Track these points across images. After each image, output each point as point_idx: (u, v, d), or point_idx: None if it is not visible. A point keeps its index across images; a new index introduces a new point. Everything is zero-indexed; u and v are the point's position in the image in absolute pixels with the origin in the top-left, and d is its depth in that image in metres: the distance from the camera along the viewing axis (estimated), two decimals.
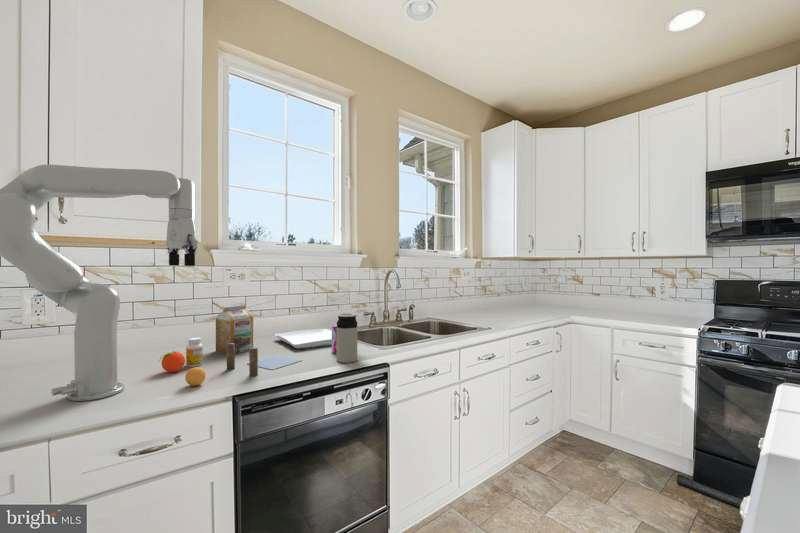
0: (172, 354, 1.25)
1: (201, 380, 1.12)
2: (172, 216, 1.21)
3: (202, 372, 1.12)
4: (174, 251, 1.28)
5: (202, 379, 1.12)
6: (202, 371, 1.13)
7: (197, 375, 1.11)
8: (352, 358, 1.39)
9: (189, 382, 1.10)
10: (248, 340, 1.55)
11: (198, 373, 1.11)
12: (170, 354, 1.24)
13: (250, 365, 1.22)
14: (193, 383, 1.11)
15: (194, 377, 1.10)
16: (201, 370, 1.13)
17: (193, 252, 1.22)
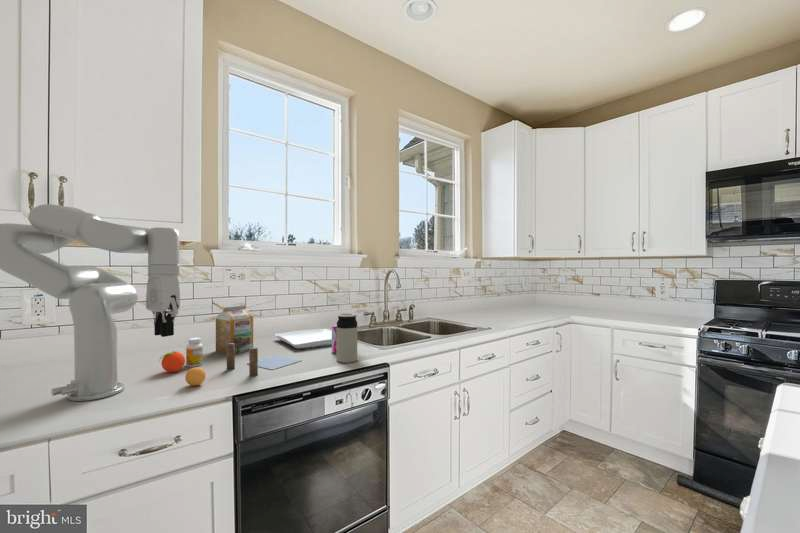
0: (172, 354, 1.25)
1: (201, 380, 1.12)
2: (152, 274, 1.01)
3: (202, 372, 1.12)
4: (160, 316, 1.06)
5: (202, 379, 1.12)
6: (202, 371, 1.13)
7: (197, 375, 1.11)
8: (352, 358, 1.39)
9: (189, 382, 1.10)
10: (248, 340, 1.55)
11: (198, 373, 1.11)
12: (170, 354, 1.24)
13: (250, 365, 1.22)
14: (193, 383, 1.11)
15: (194, 377, 1.10)
16: (201, 370, 1.13)
17: (171, 321, 1.04)
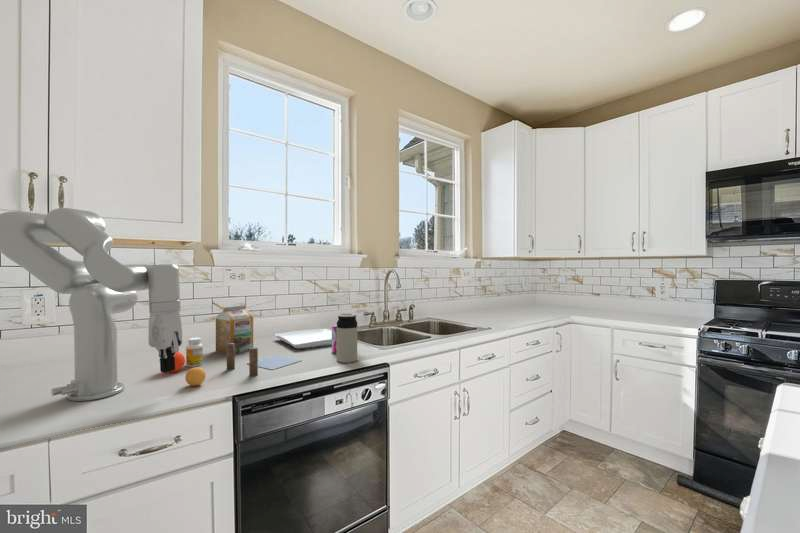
0: None
1: (201, 380, 1.12)
2: (153, 312, 1.01)
3: (202, 372, 1.12)
4: None
5: (202, 379, 1.12)
6: (202, 371, 1.13)
7: (197, 375, 1.11)
8: (352, 358, 1.39)
9: (189, 382, 1.10)
10: (248, 340, 1.55)
11: (198, 373, 1.11)
12: None
13: (250, 365, 1.22)
14: (193, 383, 1.11)
15: (194, 377, 1.10)
16: (201, 370, 1.13)
17: None
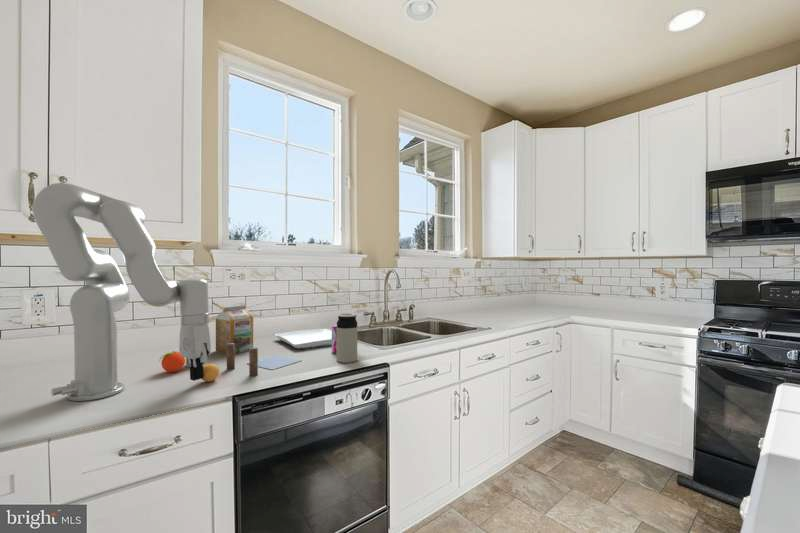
0: (172, 354, 1.25)
1: (211, 376, 1.14)
2: (184, 324, 1.08)
3: (218, 374, 1.17)
4: None
5: (212, 377, 1.15)
6: (218, 374, 1.17)
7: (216, 370, 1.16)
8: (352, 358, 1.39)
9: (206, 367, 1.15)
10: (248, 340, 1.55)
11: (217, 371, 1.16)
12: (170, 354, 1.24)
13: (250, 365, 1.22)
14: (207, 371, 1.14)
15: (214, 368, 1.15)
16: (218, 373, 1.17)
17: None
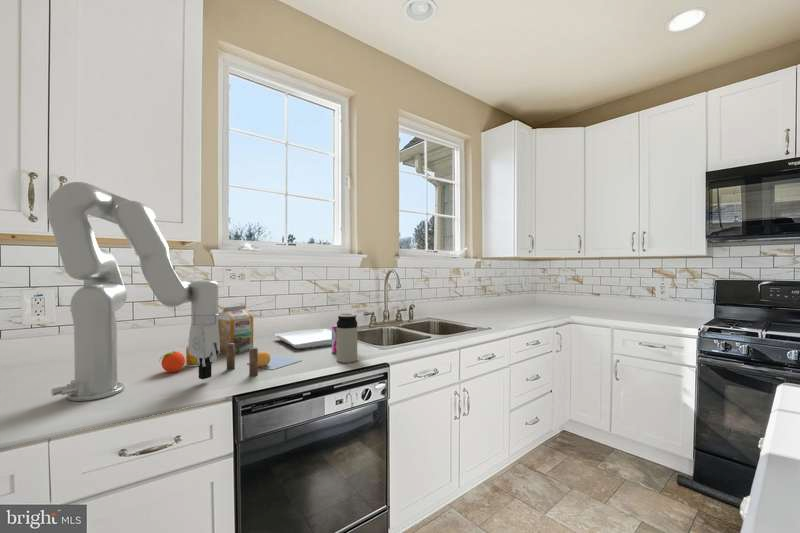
0: (172, 354, 1.25)
1: (264, 359, 1.31)
2: (195, 324, 1.11)
3: (267, 363, 1.32)
4: None
5: (264, 360, 1.31)
6: (267, 364, 1.33)
7: (269, 359, 1.33)
8: (352, 358, 1.39)
9: (265, 352, 1.33)
10: (248, 340, 1.55)
11: (269, 360, 1.33)
12: (170, 354, 1.24)
13: (250, 365, 1.22)
14: (265, 353, 1.32)
15: (269, 356, 1.33)
16: (267, 364, 1.33)
17: None
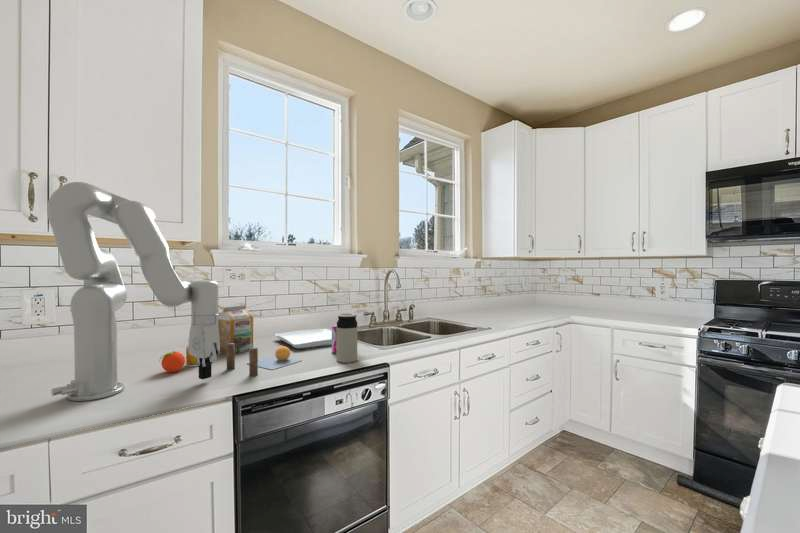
0: (172, 354, 1.25)
1: (289, 355, 1.40)
2: (195, 324, 1.11)
3: (286, 350, 1.40)
4: None
5: (289, 354, 1.40)
6: (285, 349, 1.40)
7: (284, 354, 1.39)
8: (352, 358, 1.39)
9: (281, 360, 1.40)
10: (248, 340, 1.55)
11: (284, 352, 1.39)
12: (170, 354, 1.24)
13: (250, 365, 1.22)
14: (285, 359, 1.40)
15: (283, 356, 1.38)
16: (284, 349, 1.40)
17: None
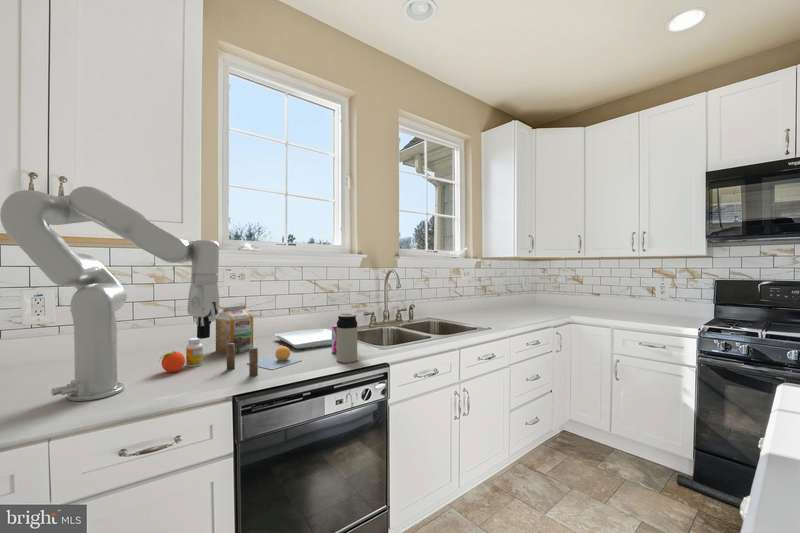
0: (172, 354, 1.25)
1: (289, 355, 1.40)
2: (195, 282, 1.11)
3: (286, 350, 1.40)
4: None
5: (289, 354, 1.40)
6: (285, 349, 1.40)
7: (284, 354, 1.39)
8: (352, 358, 1.39)
9: (281, 360, 1.40)
10: (248, 340, 1.55)
11: (284, 352, 1.39)
12: (170, 354, 1.24)
13: (250, 365, 1.22)
14: (285, 359, 1.40)
15: (283, 356, 1.38)
16: (284, 349, 1.40)
17: None
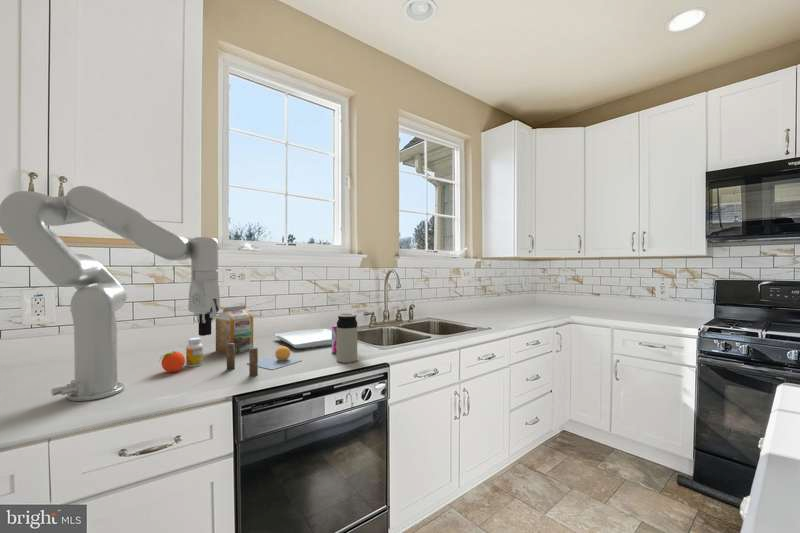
0: (172, 354, 1.25)
1: (289, 355, 1.40)
2: (195, 279, 1.11)
3: (286, 350, 1.40)
4: None
5: (289, 354, 1.40)
6: (285, 349, 1.40)
7: (284, 354, 1.39)
8: (352, 358, 1.39)
9: (281, 360, 1.40)
10: (248, 340, 1.55)
11: (284, 352, 1.39)
12: (170, 354, 1.24)
13: (250, 365, 1.22)
14: (285, 359, 1.40)
15: (283, 356, 1.38)
16: (284, 349, 1.40)
17: None
